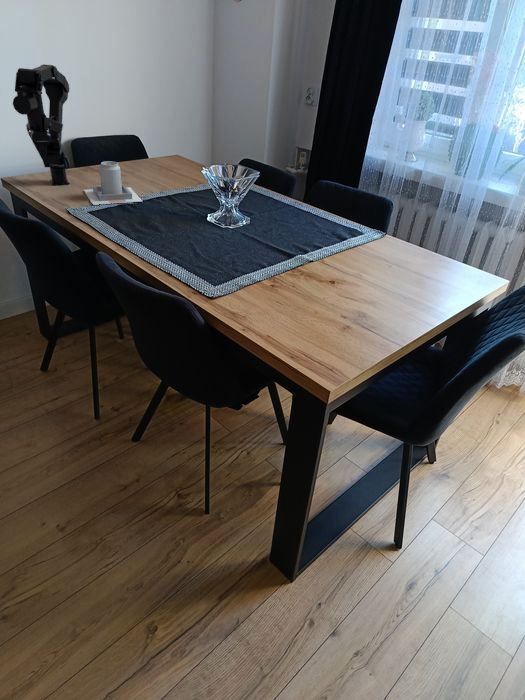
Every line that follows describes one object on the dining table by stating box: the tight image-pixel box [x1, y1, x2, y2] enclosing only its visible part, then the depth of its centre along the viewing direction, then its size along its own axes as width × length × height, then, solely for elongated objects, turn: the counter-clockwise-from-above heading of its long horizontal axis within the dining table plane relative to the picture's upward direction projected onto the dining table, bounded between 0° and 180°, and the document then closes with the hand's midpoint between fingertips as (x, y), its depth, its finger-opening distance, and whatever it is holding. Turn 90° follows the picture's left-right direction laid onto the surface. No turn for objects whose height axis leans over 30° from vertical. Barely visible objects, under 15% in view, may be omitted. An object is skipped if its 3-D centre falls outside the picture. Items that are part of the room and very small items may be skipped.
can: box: [98, 160, 123, 195], centre depth 186 cm, size 8×8×12 cm
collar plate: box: [83, 184, 143, 206], centre depth 189 cm, size 18×18×3 cm
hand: (42, 156), depth 181 cm, fingers open, 9 cm apart
